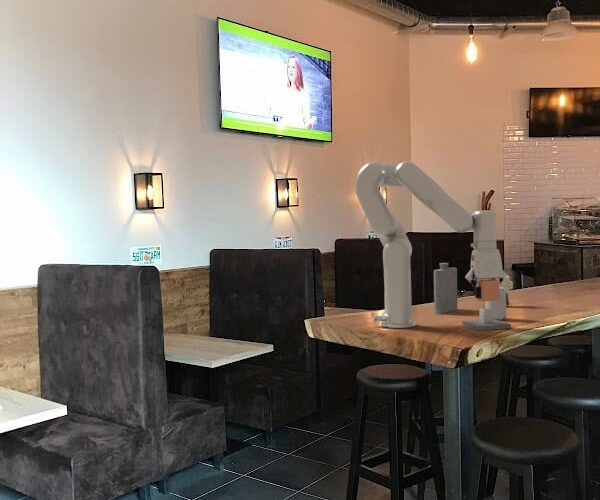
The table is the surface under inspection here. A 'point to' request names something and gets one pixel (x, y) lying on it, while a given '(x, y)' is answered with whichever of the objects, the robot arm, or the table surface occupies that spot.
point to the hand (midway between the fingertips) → (486, 297)
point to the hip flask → (445, 289)
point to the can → (498, 306)
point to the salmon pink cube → (489, 290)
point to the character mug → (506, 286)
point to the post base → (486, 326)
